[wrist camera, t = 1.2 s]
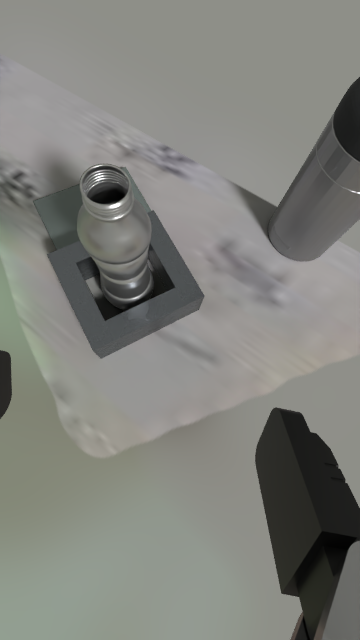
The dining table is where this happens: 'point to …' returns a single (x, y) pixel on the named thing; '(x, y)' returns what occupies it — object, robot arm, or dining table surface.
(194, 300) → the metal collar
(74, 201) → the grey-green rectangular panel
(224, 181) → the dining table surface
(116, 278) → the silver metal bottle
